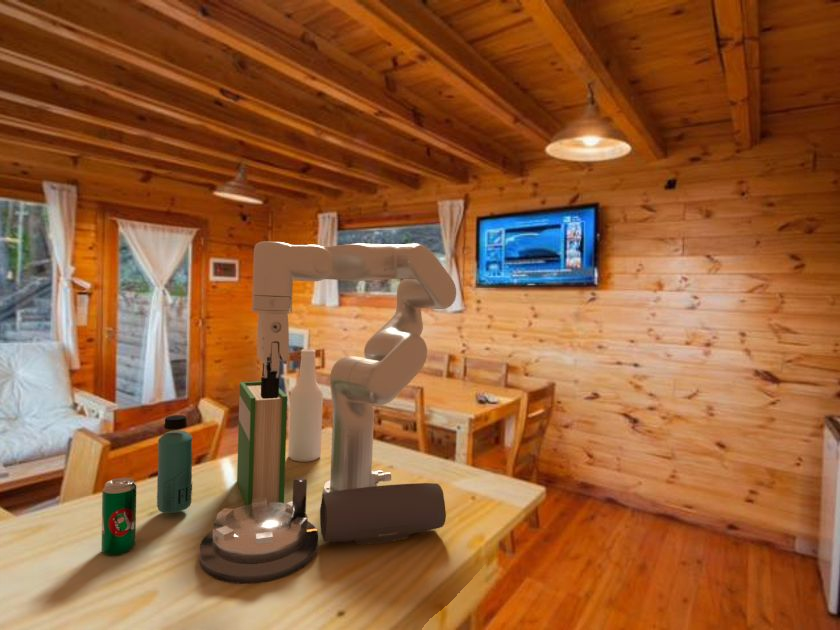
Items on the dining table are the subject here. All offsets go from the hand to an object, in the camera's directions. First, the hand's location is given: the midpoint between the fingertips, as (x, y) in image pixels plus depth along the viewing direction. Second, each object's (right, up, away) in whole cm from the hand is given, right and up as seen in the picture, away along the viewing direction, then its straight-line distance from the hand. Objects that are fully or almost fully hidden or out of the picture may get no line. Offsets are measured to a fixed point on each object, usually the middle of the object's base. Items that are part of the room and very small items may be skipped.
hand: (269, 397), depth 97 cm
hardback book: (-7, -24, +14) cm, 29 cm away
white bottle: (-2, -23, +39) cm, 45 cm away
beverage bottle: (-20, -24, +3) cm, 32 cm away
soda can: (-23, -25, -12) cm, 36 cm away
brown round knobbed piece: (+2, -24, -10) cm, 25 cm away
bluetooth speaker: (+23, -27, -3) cm, 35 cm away
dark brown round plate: (+1, -26, -10) cm, 27 cm away
